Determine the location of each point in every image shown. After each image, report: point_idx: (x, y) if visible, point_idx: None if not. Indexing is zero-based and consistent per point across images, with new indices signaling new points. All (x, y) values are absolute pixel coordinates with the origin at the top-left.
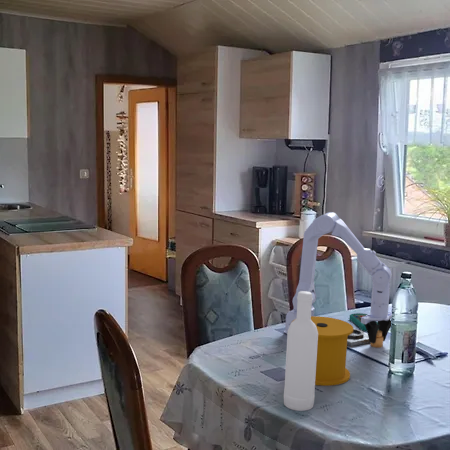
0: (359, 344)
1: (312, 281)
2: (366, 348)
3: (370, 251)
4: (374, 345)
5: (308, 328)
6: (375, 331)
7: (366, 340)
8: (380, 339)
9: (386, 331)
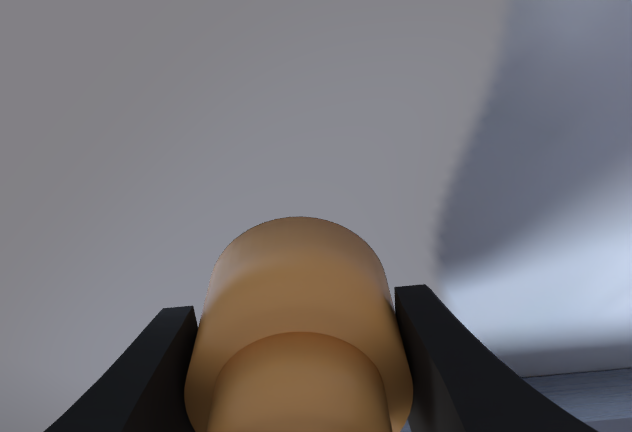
0: None
1: None
2: (531, 255)
3: None
4: (383, 273)
5: None
6: (546, 430)
7: None
8: (317, 294)
9: (109, 428)
